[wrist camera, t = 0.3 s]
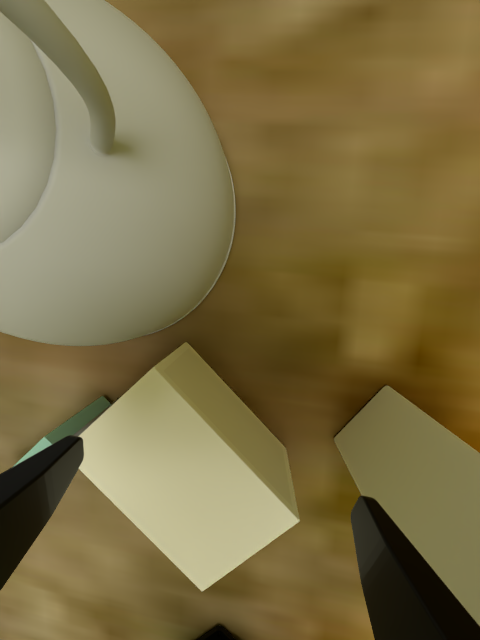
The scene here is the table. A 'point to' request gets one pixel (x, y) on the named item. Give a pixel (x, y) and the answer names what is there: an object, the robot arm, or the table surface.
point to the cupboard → (191, 468)
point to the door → (69, 426)
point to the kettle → (102, 179)
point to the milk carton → (421, 486)
